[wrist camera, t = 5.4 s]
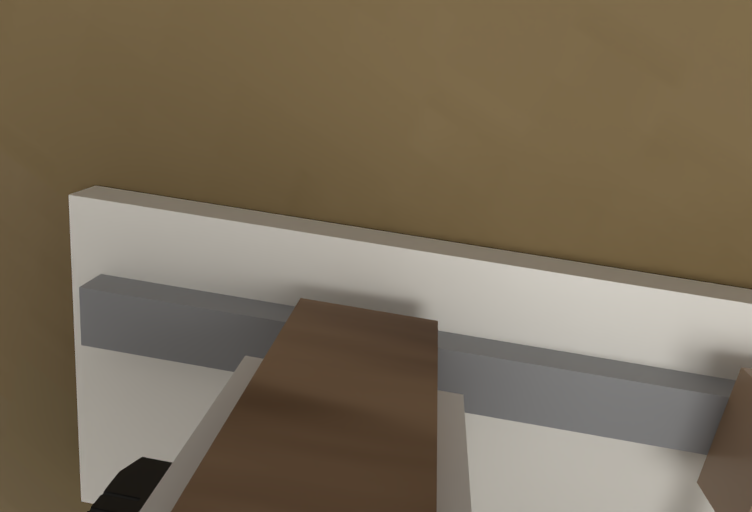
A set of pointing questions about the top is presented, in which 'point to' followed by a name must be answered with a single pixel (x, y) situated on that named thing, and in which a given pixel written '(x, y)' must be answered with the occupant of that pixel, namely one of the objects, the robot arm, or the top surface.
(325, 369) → the sliding handle
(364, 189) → the top surface
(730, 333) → the board
